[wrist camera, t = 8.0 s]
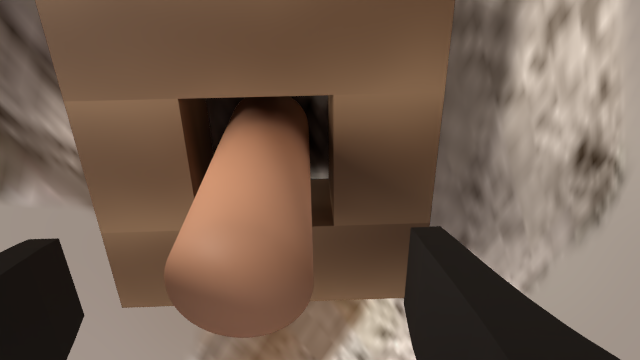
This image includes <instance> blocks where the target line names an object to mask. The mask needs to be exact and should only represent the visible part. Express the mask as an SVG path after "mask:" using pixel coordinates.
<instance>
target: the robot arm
mask: <svg viewBox="0 0 640 360" xmlns="http://www.w3.org/2000/svg"><path fill="white" fill-rule="evenodd" d="M404 307H405V312H406V317H407V323H408V328H409V332H410V337H411V342H412V346H413V350H414V353H415V356H416V359H417V360H620V359H619V358H617V357H616V356H614V355H612V354H611V353H609V352H608V351H606V350H604V349H603V348H601V347H600V346H598V345H596V344H595V343H593V342H591V341H590V340H588V339H587V338H585V337H583V336H582V335H580V334H579V333H577V332H576V331H574V330H573V329H571V328H570V327H568V326H567V325H565V324H564V323H562V322H561V321H560V320H558V319H557V318H556V317H554V316H553V315H551V314H550V313H549V312H547V311H546V310H544V309H543V308H542V307H540V306H539V305H537V304H536V303H534V302H533V301H532V300H530V299H529V298H528V297H527V296H525V295H524V294H523V293H521V292H520V291H519V290H517V289H516V288H515V287H513V286H512V285H511V284H510V283H508V282H507V281H506V280H504V279H503V278H502V277H501V276H499V275H498V274H497V273H496V272H494V271H493V270H492V269H491V268H490V267H488V266H487V265H486V264H485V263H483V262H482V261H481V260H480V259H479V258H478V257H476V256H475V255H474V254H473V253H472V252H470V251H469V250H468V249H467V248H466V247H464V246H463V245H462V244H461V243H460V242H459V241H457V240H456V239H455V238H454V237H453V236H451V235H450V234H449V233H448V232H446V231H445V230H444V229H443V228H441V227H440V226H439V227H411V230H410V241H409V252H408V263H407V274H406V285H405V296H404ZM83 317H84V313H83V310H82V307H81V304H80V301H79V298H78V295H77V292H76V289H75V286H74V283H73V280H72V277H71V274H70V271H69V268H68V265H67V262H66V259H65V256H64V253H63V250H62V247H61V244H60V241H59V239H30V240H26V241H24V242H22V243H19V244H17V245H15V246H13V247H11V248H9V249H7V250H4V251H3V252H1V253H0V360H67V357H68V355H69V353H70V350H71V348H72V345H73V343H74V341H75V338H76V336H77V333H78V330H79V328H80V325H81V323H82V320H83Z"/></svg>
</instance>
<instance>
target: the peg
mask: <svg viewBox="0 0 640 360" xmlns="http://www.w3.org/2000/svg"><path fill="white" fill-rule="evenodd" d="M164 282H165V287H166V291H167V293H168V296H169V298H170V300H171V302H172V303H173V305H174V306H175V307H176V308H177V310H178V311H179V312H180V313H181V314H182V315H183V316H184V317H185V318H187V319H188V320H189V321H190V322H192V323H193V324H195V325H197V326H198V327H200V328H202V329H204V330H207V331H209V332H212V333H215V334H218V335H223V336H228V337H238V338H248V337H257V336H263V335H267V334H270V333H273V332H276V331H278V330H280V329H282V328H284V327H286V326H288V325H289V324H291V323H292V322H293V321H294V320H296V319H297V318H298V317H299V316H300V315H301V314H302V313H303V311H304V310H305V308H306V307H307V305H308V303H309V301H310V299H311V296H312V292H313V286H314V275H313V243H312V212H311V181H310V149H309V124H308V119H307V116H306V114H305V112H304V110H303V109H302V107H301V106H300V105H299V103H298V102H296V101H295V100H294V99H293V98H291V97H290V96H271V97H245V98H244V99H243V100H242V101H240V103H239V104H238V105H237V106H236V108H235V109H234V112H233V114H232V116H231V118H230V120H229V123H228V125H227V127H226V129H225V132H224V134H223V136H222V138H221V140H220V143H219V145H218V147H217V149H216V152H215V154H214V156H213V158H212V161H211V163H210V165H209V167H208V169H207V172H206V174H205V176H204V178H203V181H202V183H201V185H200V187H199V190H198V192H197V194H196V196H195V198H194V201H193V203H192V205H191V207H190V210H189V212H188V214H187V216H186V218H185V221H184V223H183V225H182V227H181V230H180V232H179V234H178V236H177V239H176V241H175V243H174V245H173V247H172V250H171V252H170V254H169V256H168V259H167V261H166V265H165V270H164Z"/></svg>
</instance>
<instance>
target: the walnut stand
mask: <svg viewBox="0 0 640 360" xmlns="http://www.w3.org/2000/svg"><path fill="white" fill-rule="evenodd" d="M35 2H36V6H37V9H38V13H39V16H40V20H41V23H42V27H43V30H44V34H45V37H46V41H47V44H48V48H49V52H50V55H51V59H52V62H53V66H54V69H55V73H56V76H57V80H58V83H59V87H60V90H61V94H62V97H63V101H64V104H65V108H66V111H67V115H68V119H69V122H70V126H71V129H72V133H73V136H74V140H75V143H76V147H77V150H78V154H79V157H80V161H81V164H82V168H83V171H84V175H85V178H86V182H87V185H88V189H89V193H90V196H91V200H92V203H93V207H94V210H95V214H96V217H97V221H98V224H99V228H100V231H101V235H102V238H103V242H104V245H105V249H106V252H107V256H108V259H109V263H110V266H111V270H112V274H113V277H114V281H115V284H116V288H117V291H118V294H119V298H120V302H121V305H122V308H127V307H155V306H174V305H173V303H172V302H171V300H170V298H169V296H168V293H167V291H166V287H165V282H164V270H165V265H166V261H167V259H168V256H169V254H170V252H171V250H172V247H173V245H174V243H175V241H176V239H177V236H178V234H179V232H180V230H181V227H182V225H183V223H184V221H185V218H186V216H187V214H188V212H189V210H190V207H191V205H192V203H193V201H194V198H195V196H196V194H197V192H198V190H199V187H200V185H201V183H202V181H203V178H204V176H205V174H206V172H207V169H208V167H209V165H210V163H211V161H212V158H213V156H214V153H213V146H212V138H211V131H210V123H209V116H208V108H207V101H206V98H230V97H271V96H312V95H328V171H329V179H318V180H310V181H311V212H312V243H313V275H314V286H313V292H312V296H311V299H310V301H327V300H356V299H385V298H404V296H405V285H406V274H407V263H408V252H409V241H410V230H411V227H429V226H430V217H431V208H432V199H433V190H434V182H435V173H436V164H437V155H438V146H439V138H440V129H441V120H442V111H443V102H444V94H445V85H446V76H447V67H448V58H449V50H450V41H451V32H452V23H453V14H454V6H455V0H35Z"/></svg>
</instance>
